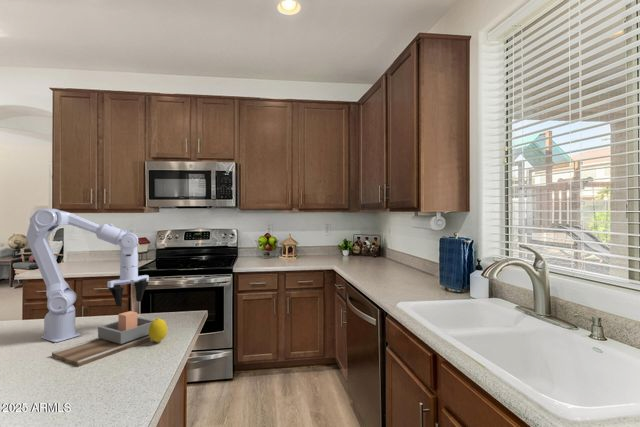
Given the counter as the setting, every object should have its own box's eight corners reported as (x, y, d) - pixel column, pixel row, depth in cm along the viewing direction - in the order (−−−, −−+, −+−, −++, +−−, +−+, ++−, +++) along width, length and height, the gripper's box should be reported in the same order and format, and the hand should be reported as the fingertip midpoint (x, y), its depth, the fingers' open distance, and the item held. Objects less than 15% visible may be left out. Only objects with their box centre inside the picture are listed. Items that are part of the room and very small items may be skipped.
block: (118, 332, 115) (118, 314, 115) (130, 328, 119) (129, 311, 119) (125, 334, 114) (125, 315, 113) (137, 330, 117) (137, 312, 117)
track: (51, 356, 102) (51, 343, 102) (137, 329, 126) (137, 318, 126) (78, 366, 96) (78, 352, 96) (163, 335, 120) (163, 324, 120)
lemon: (160, 346, 110) (160, 321, 110) (144, 345, 111) (144, 320, 111) (170, 340, 116) (170, 316, 116) (156, 338, 117) (156, 315, 117)
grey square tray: (98, 339, 113) (98, 326, 113) (135, 328, 125) (135, 316, 125) (120, 346, 108) (120, 332, 108) (157, 333, 119) (157, 321, 119)
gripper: (115, 270, 118) (116, 310, 118) (154, 264, 131) (154, 300, 131) (103, 268, 121) (103, 307, 121) (142, 263, 134) (142, 298, 134)
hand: (129, 303), depth 126 cm, fingers open, 7 cm apart
